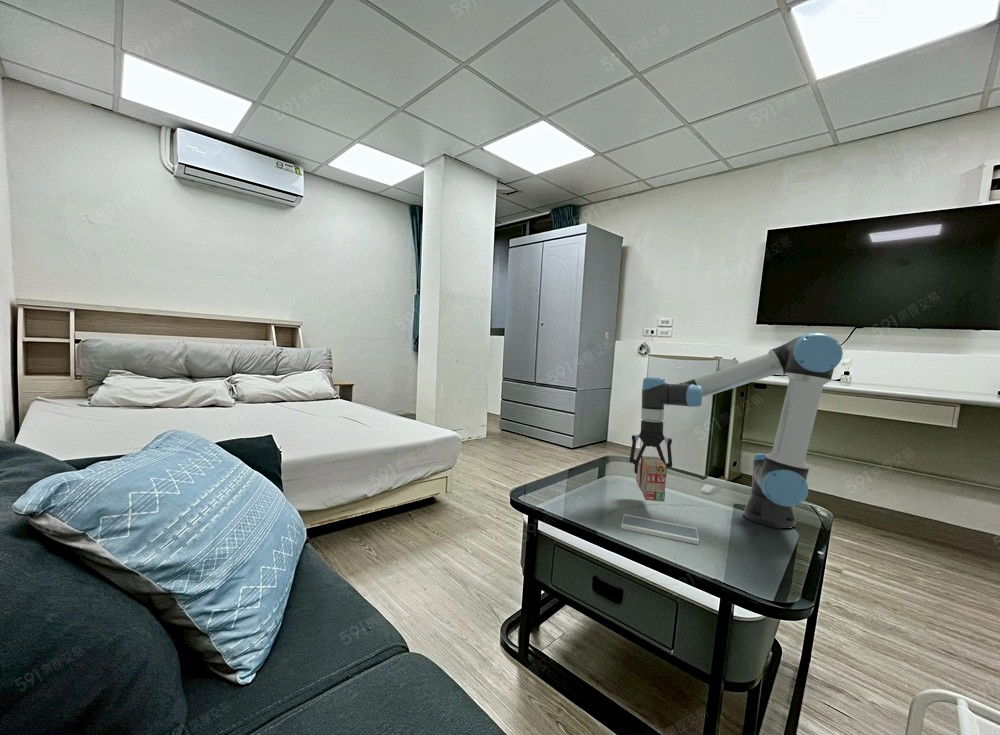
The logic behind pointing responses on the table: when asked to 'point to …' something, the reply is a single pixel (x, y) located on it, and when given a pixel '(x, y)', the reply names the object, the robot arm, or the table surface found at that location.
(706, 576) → the table surface
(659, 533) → the board
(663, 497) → the stack of blocks
